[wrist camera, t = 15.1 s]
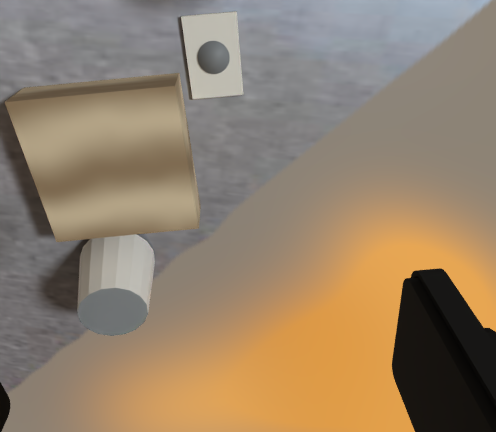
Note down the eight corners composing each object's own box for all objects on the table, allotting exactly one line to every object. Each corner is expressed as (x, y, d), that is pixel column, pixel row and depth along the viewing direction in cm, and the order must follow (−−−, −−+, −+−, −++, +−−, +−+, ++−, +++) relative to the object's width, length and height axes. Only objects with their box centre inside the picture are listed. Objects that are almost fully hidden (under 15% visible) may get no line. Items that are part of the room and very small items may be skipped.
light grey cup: (69, 340, 38) (79, 283, 44) (151, 340, 40) (151, 286, 46) (69, 280, 34) (80, 226, 40) (159, 283, 36) (158, 231, 42)
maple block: (25, 86, 35) (4, 102, 31) (179, 71, 35) (174, 85, 31) (70, 217, 41) (56, 242, 38) (200, 204, 41) (198, 228, 38)
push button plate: (181, 16, 32) (180, 16, 32) (236, 11, 32) (236, 11, 32) (192, 98, 35) (192, 99, 35) (243, 93, 35) (243, 95, 35)
